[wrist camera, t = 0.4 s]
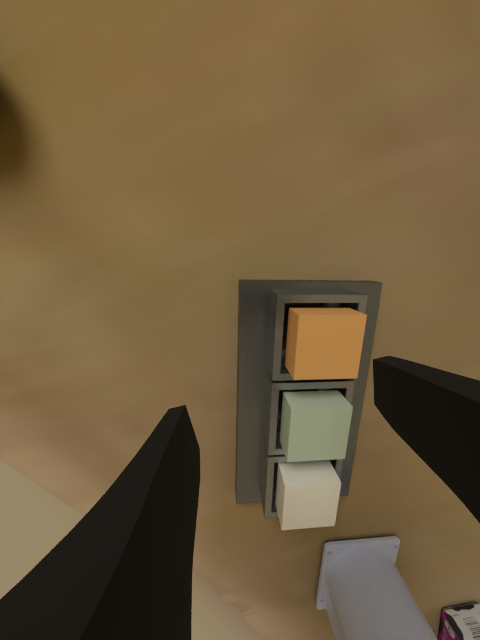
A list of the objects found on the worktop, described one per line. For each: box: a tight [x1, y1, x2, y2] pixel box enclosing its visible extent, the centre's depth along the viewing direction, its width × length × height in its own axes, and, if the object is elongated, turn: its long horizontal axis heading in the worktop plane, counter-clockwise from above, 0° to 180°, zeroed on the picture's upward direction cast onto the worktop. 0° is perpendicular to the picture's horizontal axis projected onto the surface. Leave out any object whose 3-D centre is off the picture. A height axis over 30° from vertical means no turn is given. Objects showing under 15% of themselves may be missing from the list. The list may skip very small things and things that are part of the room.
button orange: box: [285, 308, 367, 380], centre depth 15 cm, size 4×4×2 cm
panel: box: [235, 280, 382, 518], centre depth 19 cm, size 19×10×3 cm, turn 179°
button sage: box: [280, 390, 353, 462], centre depth 17 cm, size 4×4×2 cm
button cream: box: [275, 460, 341, 530], centre depth 18 cm, size 4×4×2 cm
